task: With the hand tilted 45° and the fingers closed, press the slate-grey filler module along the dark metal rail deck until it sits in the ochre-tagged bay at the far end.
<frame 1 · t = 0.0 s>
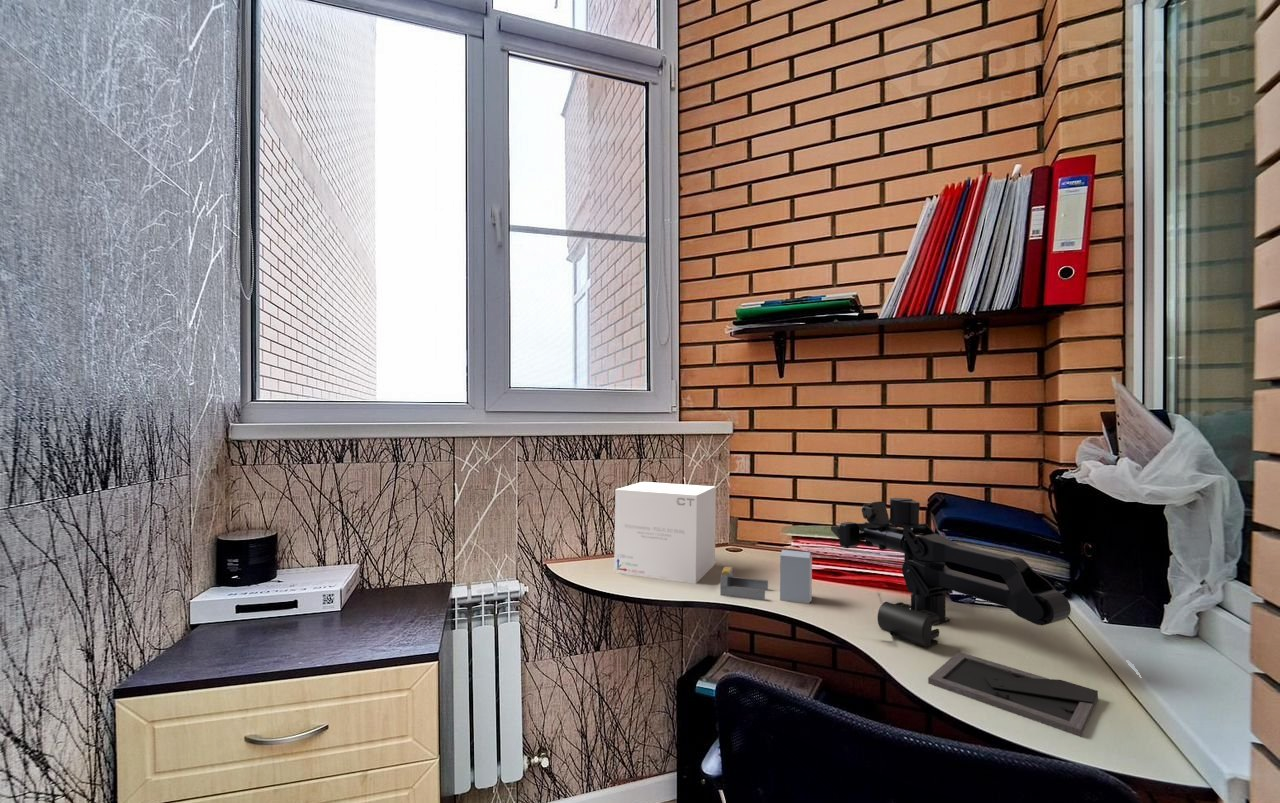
hand: (843, 526, 149), 17 cm above the table, fingers open, 9 cm apart
rack deck: (770, 599, 137), on the table
cube: (666, 569, 164), on the table
module: (796, 575, 135), point 7 cm above the table, slide at 0.0 cm
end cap: (908, 641, 114), on the table
picture frame: (1010, 695, 93), on the table
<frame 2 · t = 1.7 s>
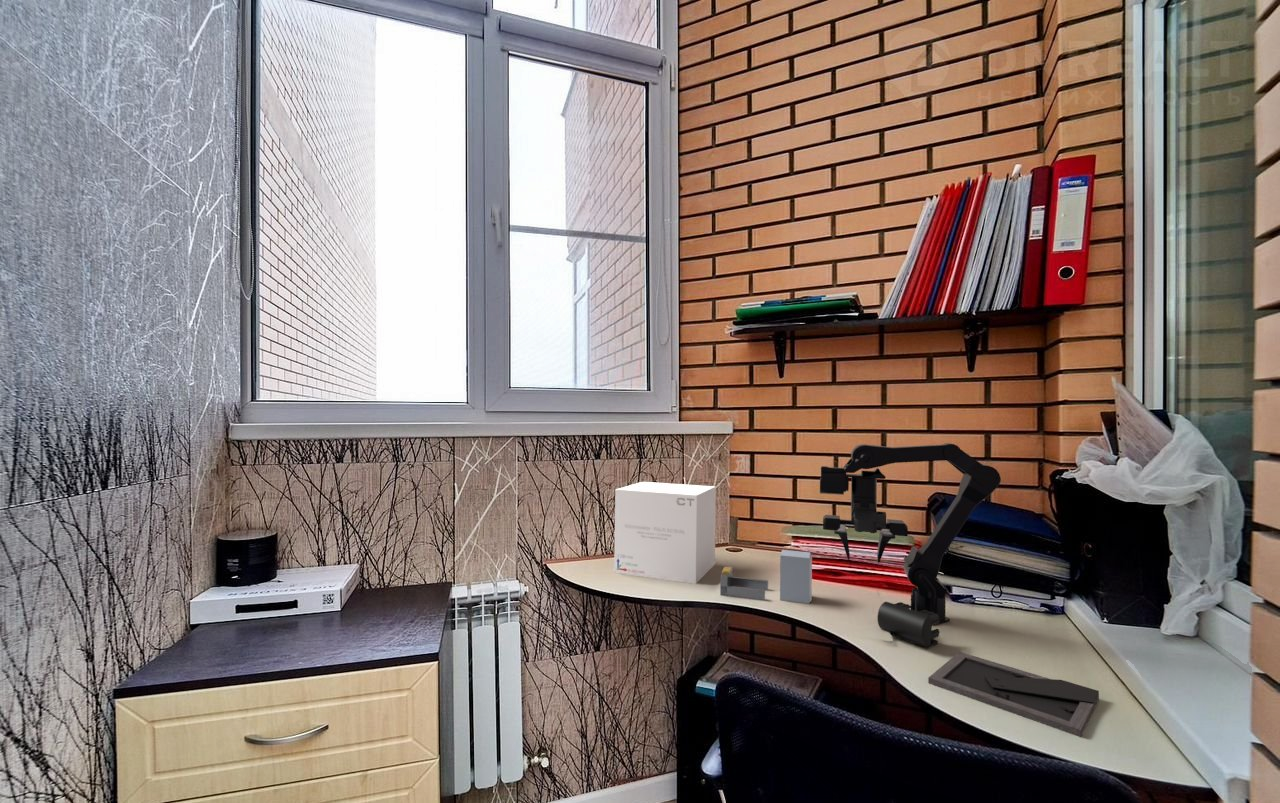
hand: (863, 560, 131), 12 cm above the table, fingers open, 6 cm apart
nothing on the table moved.
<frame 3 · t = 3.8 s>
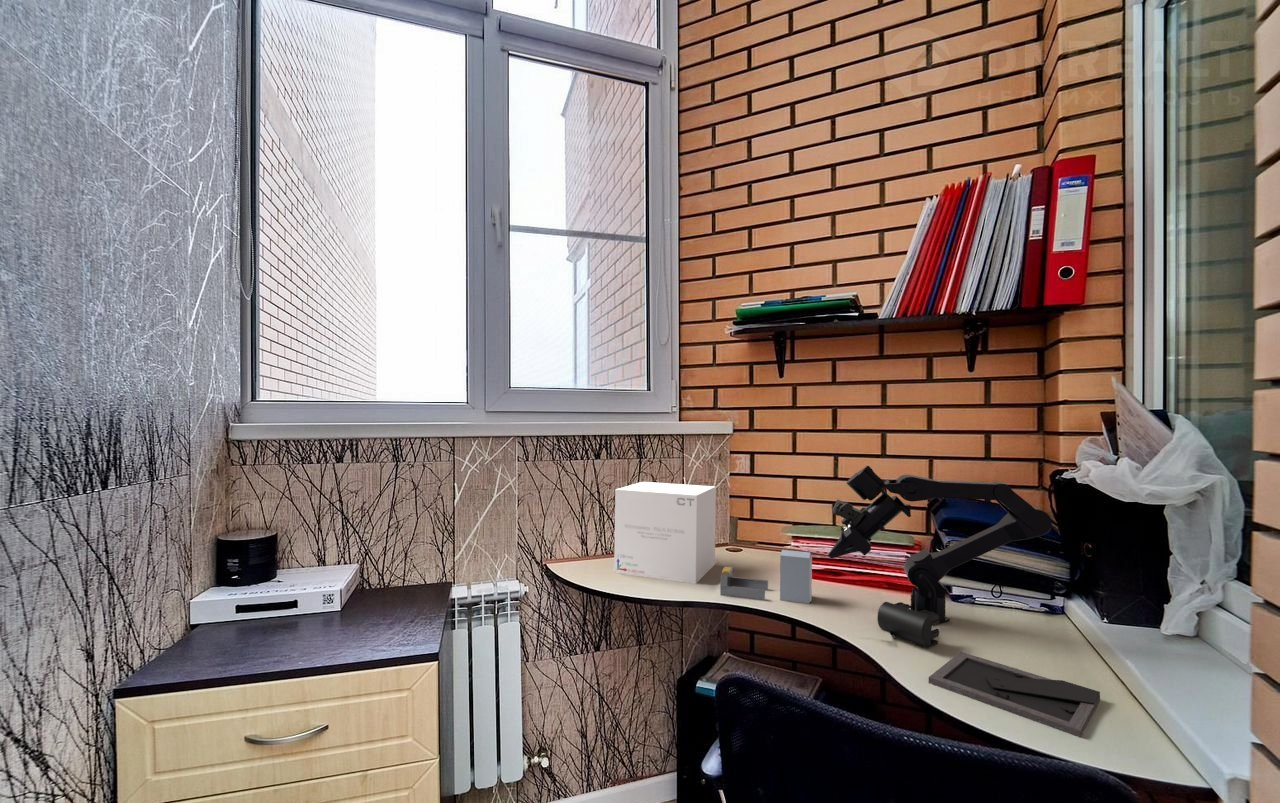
hand: (829, 556, 133), 12 cm above the table, fingers closed
nothing on the table moved.
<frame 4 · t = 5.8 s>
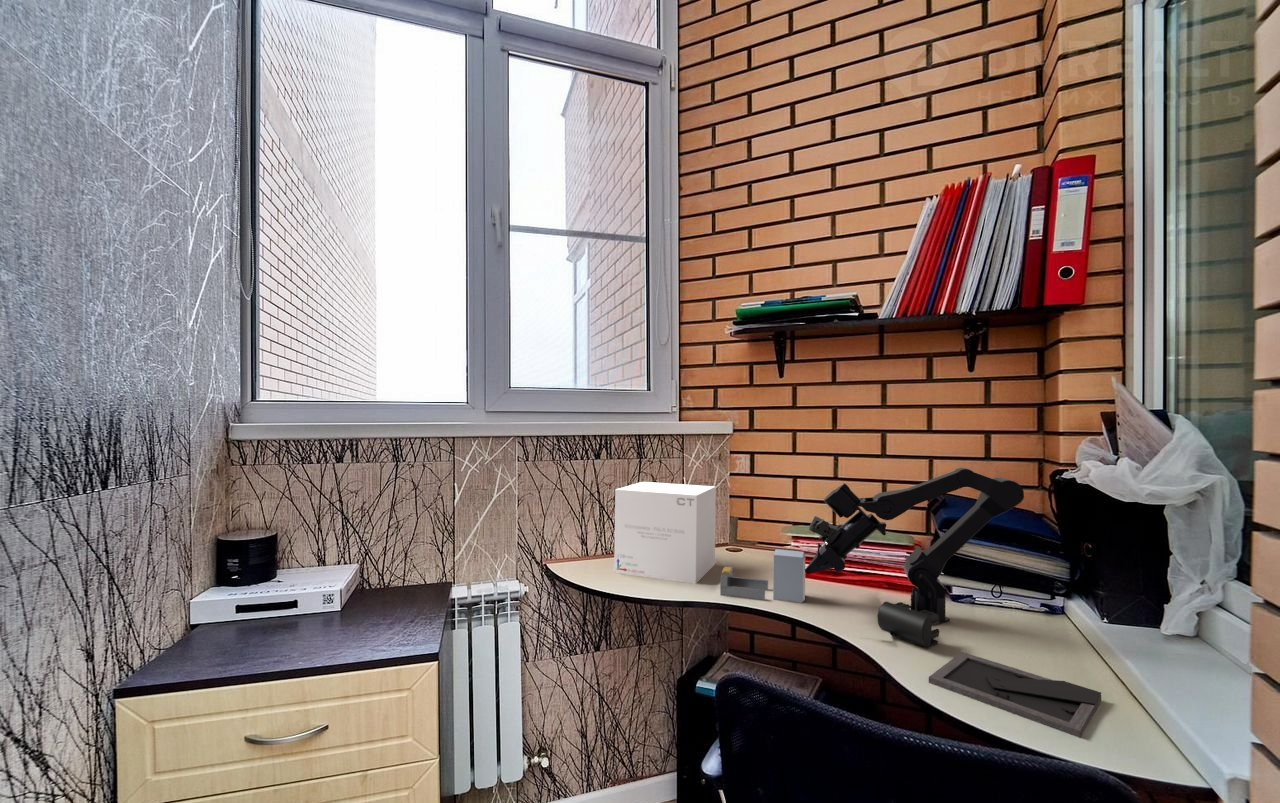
hand: (806, 572, 135), 8 cm above the table, fingers closed, pressing on module
module: (789, 575, 136), point 7 cm above the table, slide at 1.6 cm, touching gripper
everything else where it was.
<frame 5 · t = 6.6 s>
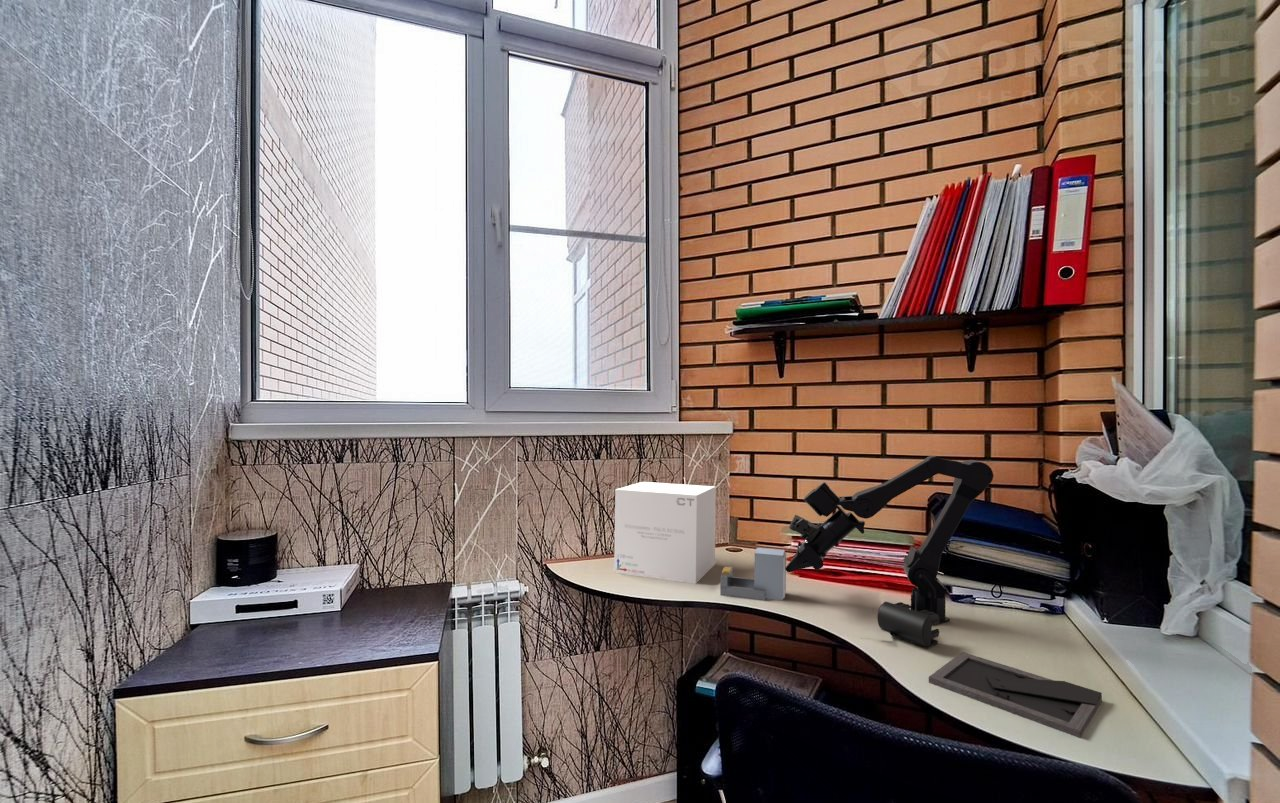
hand: (786, 570, 136), 8 cm above the table, fingers closed, pressing on module
module: (770, 573, 137), point 7 cm above the table, slide at 6.3 cm, touching gripper
everything else where it was.
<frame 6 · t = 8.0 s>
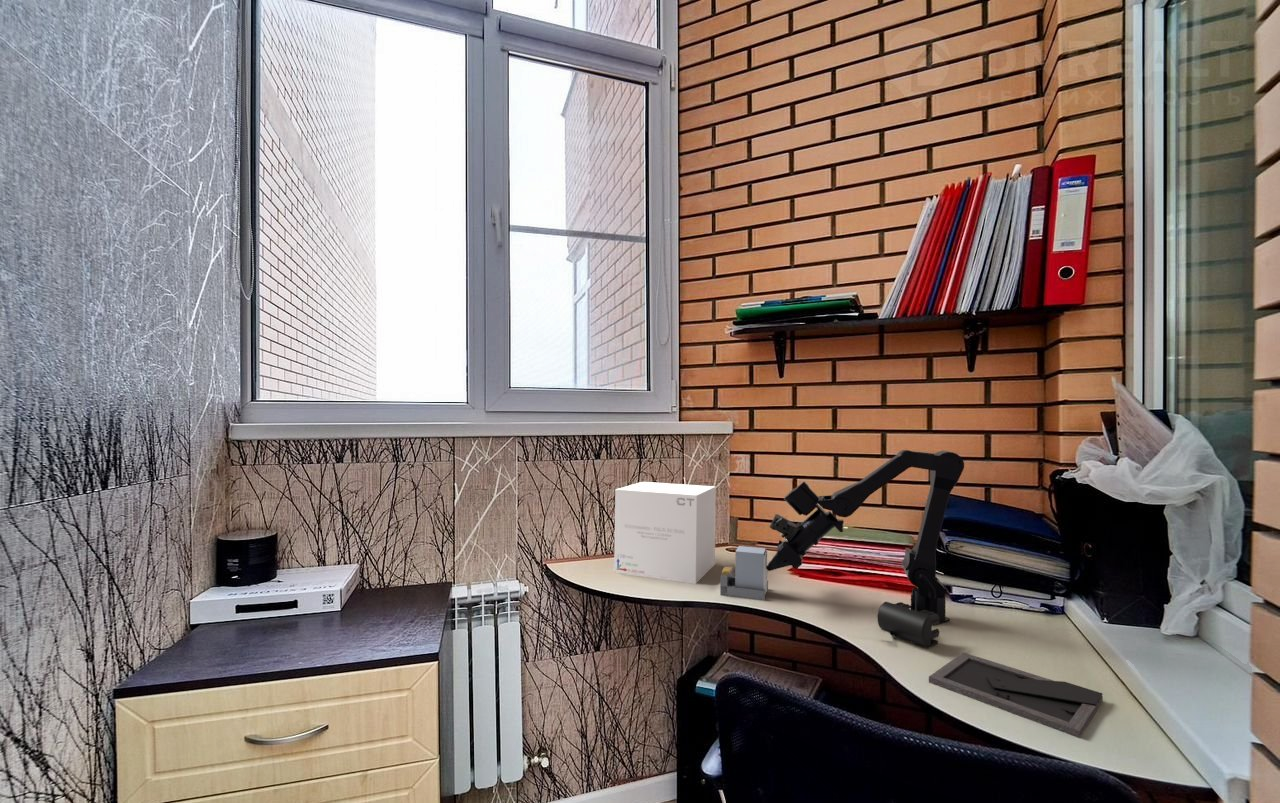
hand: (767, 569, 138), 8 cm above the table, fingers closed, pressing on module
module: (751, 571, 139), point 7 cm above the table, slide at 11.1 cm, touching gripper
everything else where it was.
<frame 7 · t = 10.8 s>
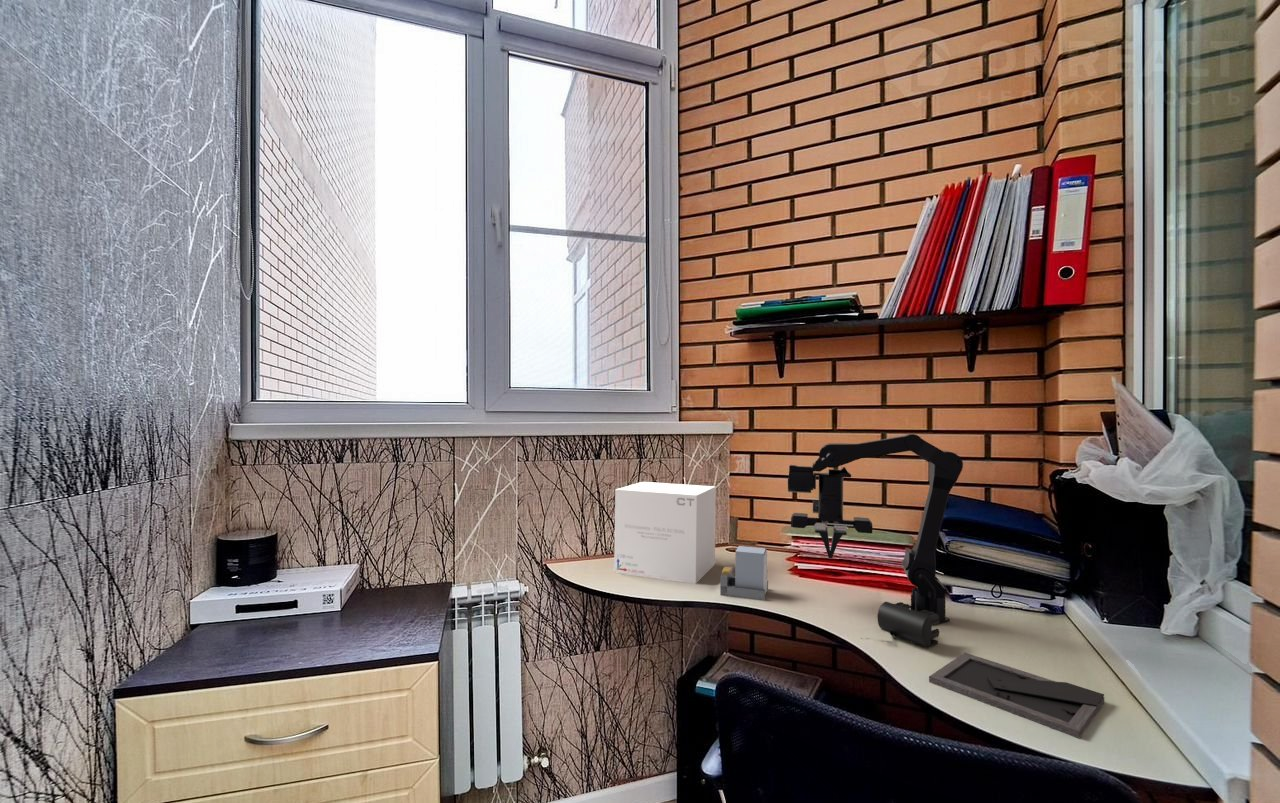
hand: (830, 557, 133), 12 cm above the table, fingers closed
module: (751, 571, 139), point 7 cm above the table, slide at 11.1 cm
everything else where it was.
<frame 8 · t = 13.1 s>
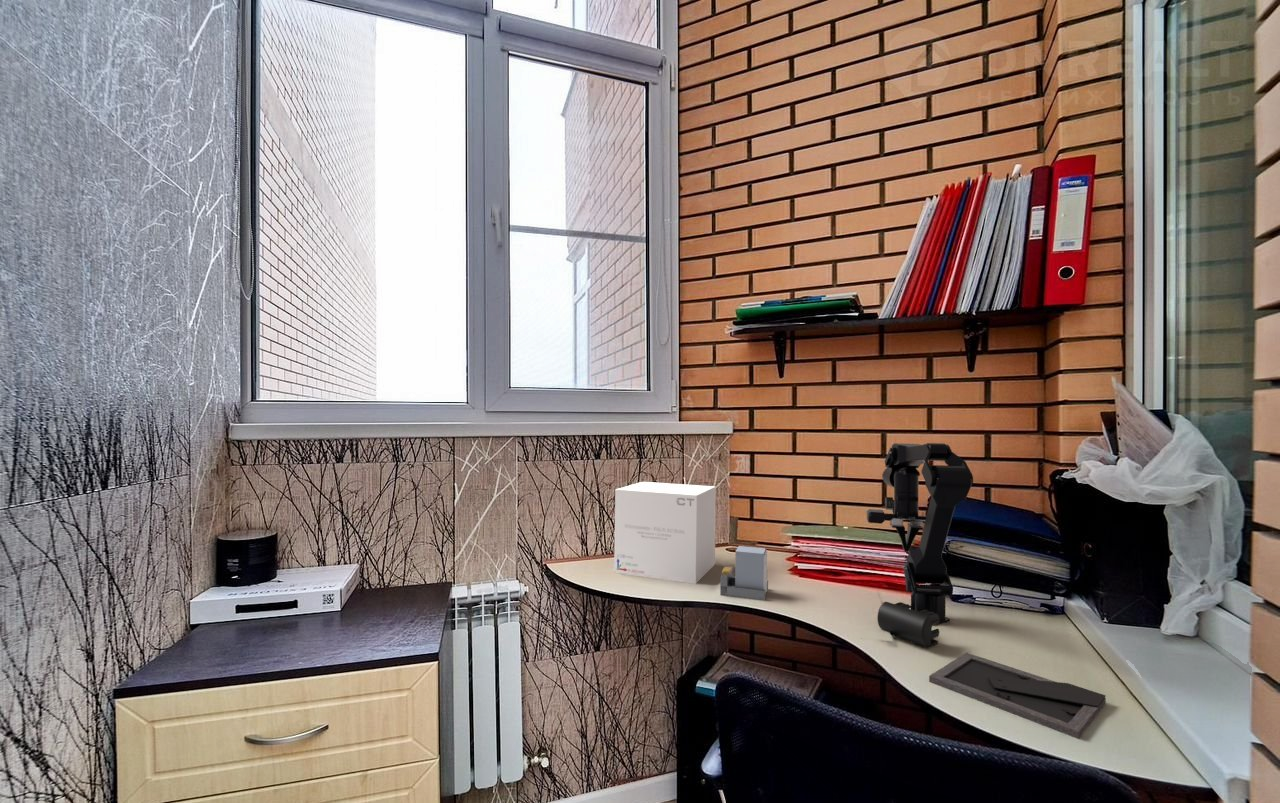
hand: (906, 551, 140), 12 cm above the table, fingers closed
nothing on the table moved.
at the end: module slide at 11.1 cm; module inside the target area (1.4 cm from its centre), point 6.7 cm above the table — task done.
